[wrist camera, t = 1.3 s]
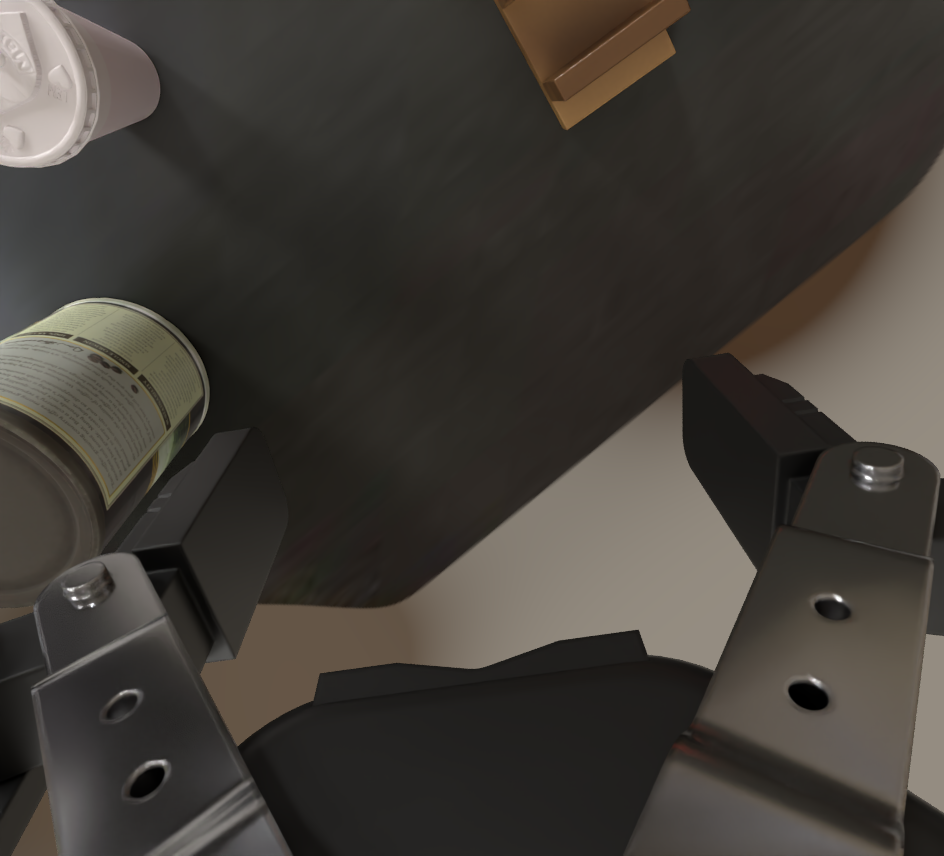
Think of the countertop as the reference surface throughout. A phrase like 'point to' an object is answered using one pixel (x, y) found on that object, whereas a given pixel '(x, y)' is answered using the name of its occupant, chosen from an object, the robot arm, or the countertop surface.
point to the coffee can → (86, 432)
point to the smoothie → (65, 83)
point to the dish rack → (590, 46)
